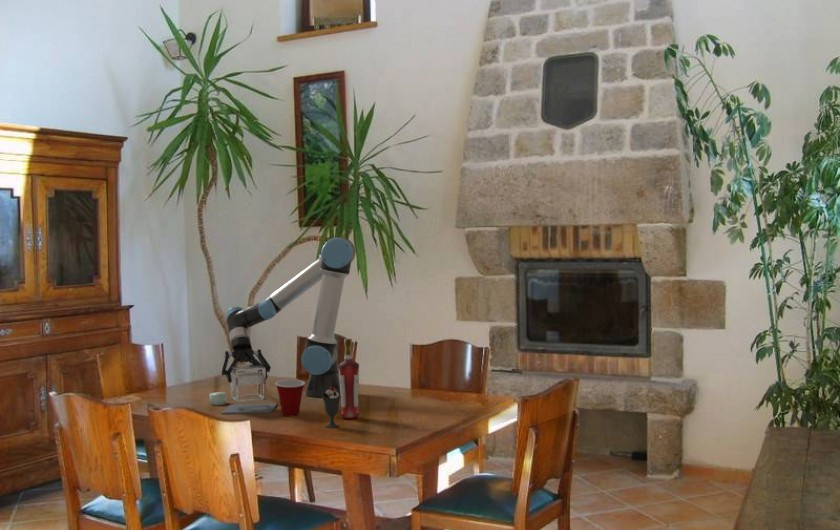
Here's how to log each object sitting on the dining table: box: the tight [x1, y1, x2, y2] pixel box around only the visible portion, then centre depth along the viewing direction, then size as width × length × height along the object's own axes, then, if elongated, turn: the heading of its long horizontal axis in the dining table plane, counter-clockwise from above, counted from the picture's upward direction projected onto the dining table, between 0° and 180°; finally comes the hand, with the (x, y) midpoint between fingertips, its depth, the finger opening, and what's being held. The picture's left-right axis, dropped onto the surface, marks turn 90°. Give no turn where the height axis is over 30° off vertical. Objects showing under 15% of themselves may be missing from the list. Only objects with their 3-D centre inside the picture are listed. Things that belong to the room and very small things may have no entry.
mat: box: [221, 403, 278, 415], centre depth 341 cm, size 18×16×1 cm
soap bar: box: [208, 391, 227, 406], centre depth 355 cm, size 6×6×4 cm
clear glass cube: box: [230, 363, 267, 403], centre depth 341 cm, size 11×11×12 cm
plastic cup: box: [274, 379, 306, 417], centre depth 329 cm, size 11×11×12 cm
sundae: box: [321, 382, 341, 429], centre depth 306 cm, size 7×7×15 cm
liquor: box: [338, 338, 360, 420], centre depth 320 cm, size 7×7×28 cm
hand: (249, 387), depth 338 cm, fingers closed on clear glass cube, 11 cm apart
